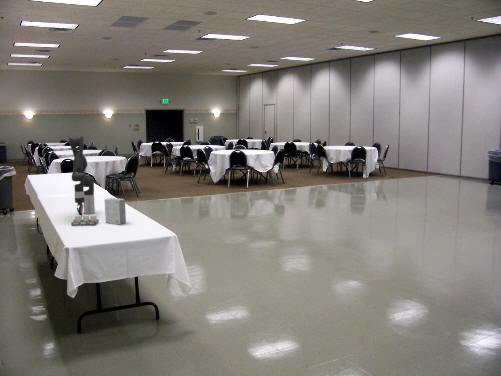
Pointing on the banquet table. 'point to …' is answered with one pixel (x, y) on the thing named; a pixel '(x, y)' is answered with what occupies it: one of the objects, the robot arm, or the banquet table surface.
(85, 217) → the tab
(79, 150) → the robot arm
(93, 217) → the tab
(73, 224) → the switch bank
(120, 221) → the hard drive box
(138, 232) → the banquet table surface
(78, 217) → the tab
